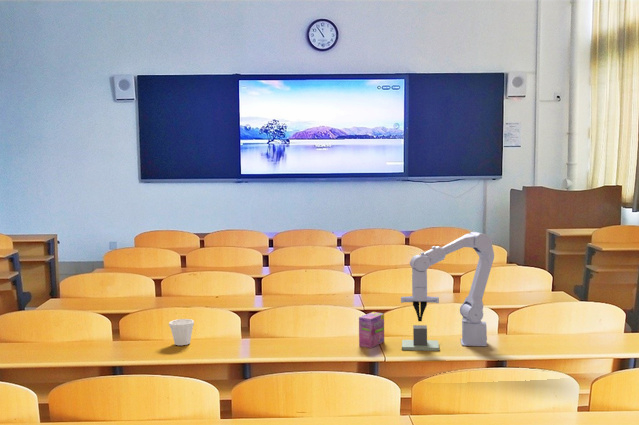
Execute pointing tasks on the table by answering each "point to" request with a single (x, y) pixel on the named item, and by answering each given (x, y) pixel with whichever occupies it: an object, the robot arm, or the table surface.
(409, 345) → the board
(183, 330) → the cup
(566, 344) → the table surface
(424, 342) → the cap
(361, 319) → the box
